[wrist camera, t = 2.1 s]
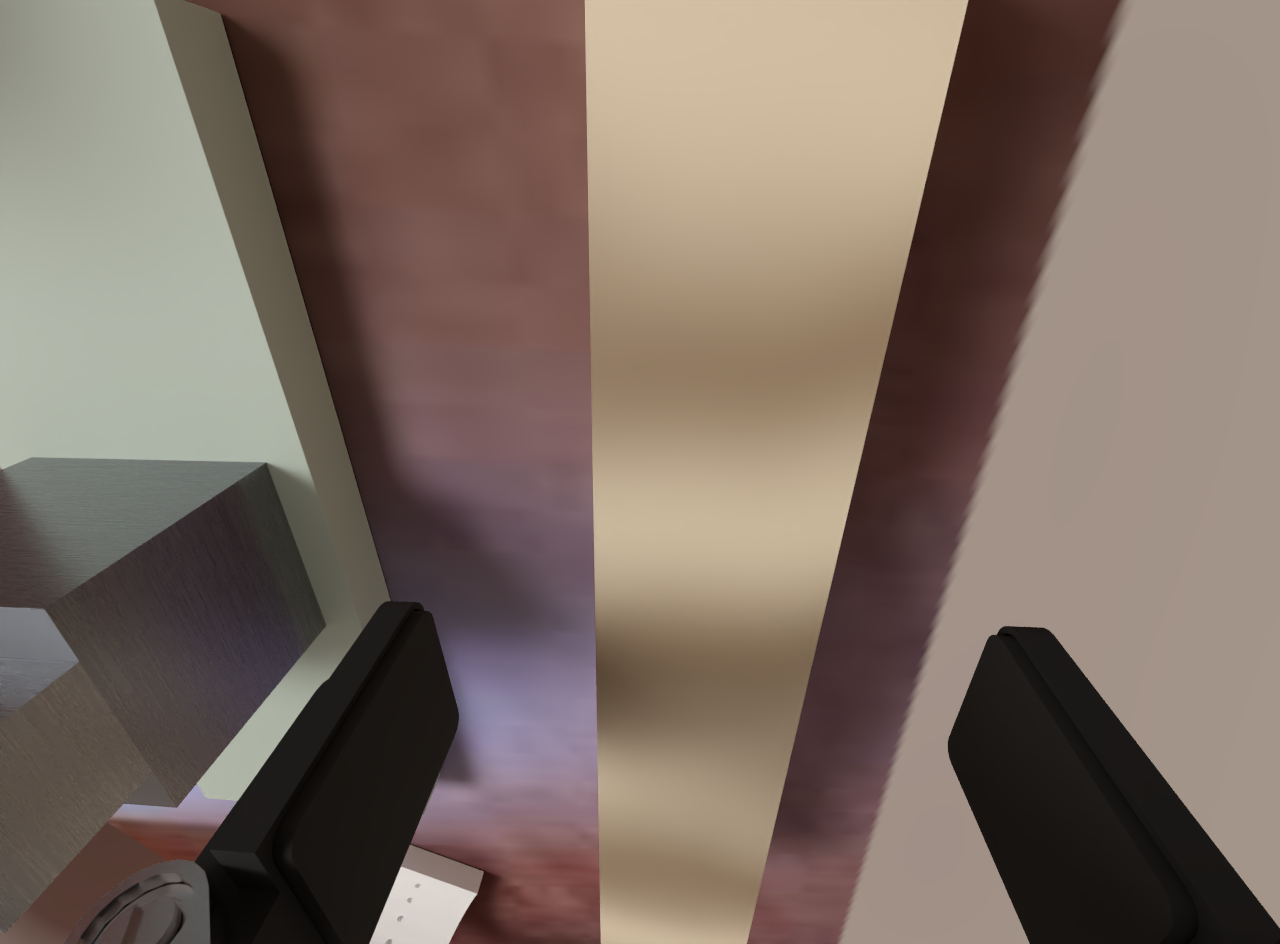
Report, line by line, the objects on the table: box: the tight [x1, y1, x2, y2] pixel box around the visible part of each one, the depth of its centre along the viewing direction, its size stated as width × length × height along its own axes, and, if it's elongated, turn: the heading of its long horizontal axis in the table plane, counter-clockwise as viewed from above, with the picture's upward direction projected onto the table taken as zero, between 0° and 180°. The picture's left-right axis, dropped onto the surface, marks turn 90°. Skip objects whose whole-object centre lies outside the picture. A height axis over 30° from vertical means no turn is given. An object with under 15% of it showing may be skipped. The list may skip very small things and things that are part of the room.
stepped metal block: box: [0, 457, 326, 933], centre depth 11 cm, size 5×6×8 cm
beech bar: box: [585, 0, 968, 944], centre depth 13 cm, size 24×4×5 cm, turn 179°
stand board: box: [0, 0, 441, 814], centre depth 15 cm, size 22×8×2 cm, turn 1°
